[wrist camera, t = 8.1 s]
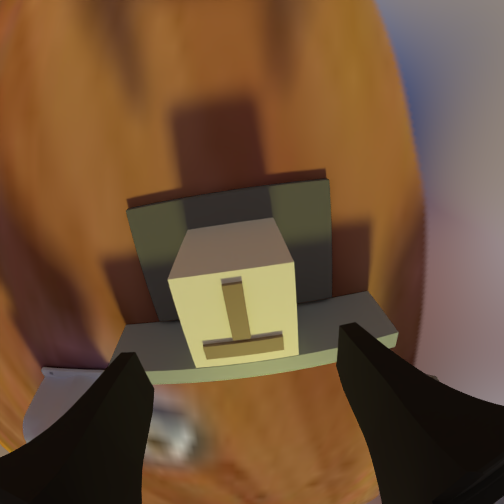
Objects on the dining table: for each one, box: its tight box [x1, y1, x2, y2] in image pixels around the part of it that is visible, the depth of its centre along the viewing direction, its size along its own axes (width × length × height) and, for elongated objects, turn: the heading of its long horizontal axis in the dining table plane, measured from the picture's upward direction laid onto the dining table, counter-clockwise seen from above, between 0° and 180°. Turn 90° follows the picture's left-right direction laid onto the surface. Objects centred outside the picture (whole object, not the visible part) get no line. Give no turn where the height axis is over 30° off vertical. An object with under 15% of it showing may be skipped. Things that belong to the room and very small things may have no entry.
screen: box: [108, 291, 398, 384], centre depth 18 cm, size 18×1×5 cm, turn 97°
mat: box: [126, 178, 332, 321], centre depth 18 cm, size 12×8×1 cm, turn 97°
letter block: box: [168, 218, 299, 368], centre depth 15 cm, size 5×5×6 cm
